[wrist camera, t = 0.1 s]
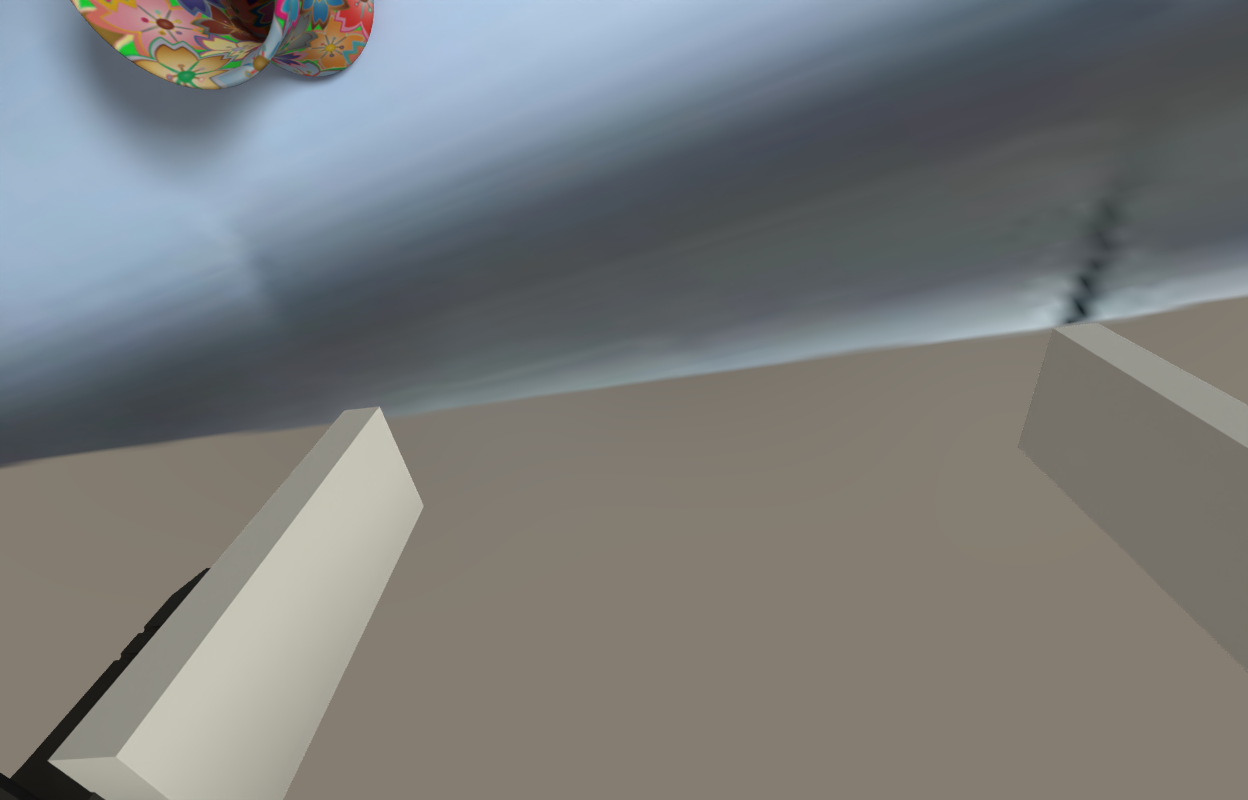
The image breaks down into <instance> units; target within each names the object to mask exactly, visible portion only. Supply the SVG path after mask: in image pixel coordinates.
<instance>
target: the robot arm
mask: <svg viewBox="0 0 1248 800" xmlns="http://www.w3.org/2000/svg"><path fill="white" fill-rule="evenodd" d="M1018 448H1019V449H1020V450H1021V451H1022V452H1023V453H1024V454H1025V455H1026V456H1027V457H1028V458H1029V459H1030V460H1031V461H1032V462H1033V463H1034V464H1035V465H1036V466H1037V467H1039V469H1040V470H1041V471H1042V472H1043V473H1045V474H1046V475H1047V476H1048V477H1049V478H1050V479H1051V480H1052V481H1053V482H1054V483H1055V484H1056V485H1057V486H1058V487H1059V488H1060V489H1061V490H1062V491H1063V492H1064V493H1065V494H1066V495H1067V496H1068V497H1069V498H1070V499H1071V500H1072V501H1073V502H1074V503H1075V504H1076V505H1077V506H1078V507H1079V508H1080V509H1081V510H1082V511H1083V512H1084V513H1085V514H1086V515H1087V516H1088V517H1089V518H1090V519H1092V521H1094V522H1095V524H1097V525H1098V526H1099V527H1100V528H1101V529H1102V530H1103V531H1104V532H1105V533H1106V534H1107V535H1108V536H1109V537H1110V538H1111V539H1112V540H1113V541H1114V542H1115V543H1116V544H1117V545H1118V546H1119V547H1120V548H1121V549H1122V550H1123V551H1124V552H1125V553H1126V554H1127V555H1128V556H1129V557H1130V558H1131V559H1132V560H1133V561H1134V562H1135V563H1136V564H1137V565H1138V566H1139V567H1140V568H1141V569H1142V570H1144V572H1145V573H1147V574H1148V575H1149V576H1150V577H1151V578H1152V579H1153V580H1154V581H1155V582H1156V583H1157V584H1158V585H1159V586H1160V587H1161V588H1162V589H1163V590H1164V591H1165V592H1166V593H1167V594H1168V595H1169V596H1170V597H1171V598H1172V599H1173V600H1174V601H1175V602H1176V603H1177V604H1178V605H1179V606H1180V607H1181V608H1182V609H1183V610H1184V611H1185V612H1186V613H1187V614H1188V615H1189V616H1190V617H1191V618H1192V619H1193V620H1194V621H1195V622H1197V624H1198V625H1199V626H1201V627H1202V628H1203V629H1204V630H1205V631H1206V632H1207V633H1208V634H1209V635H1210V636H1211V637H1212V638H1213V639H1214V640H1215V641H1216V642H1217V643H1218V644H1219V645H1220V646H1221V647H1222V648H1223V649H1224V650H1225V651H1226V652H1227V653H1228V654H1229V655H1230V656H1231V657H1232V658H1233V659H1234V660H1235V661H1236V662H1237V663H1238V664H1239V665H1240V666H1241V667H1242V668H1243V669H1244V670H1245V671H1246V672H1247V673H1248V405H1246V404H1244V403H1242V402H1241V401H1239V400H1237V399H1235V398H1233V397H1231V396H1230V395H1228V394H1226V393H1224V392H1222V391H1221V390H1219V389H1217V388H1215V387H1213V386H1211V385H1209V384H1208V383H1206V382H1204V381H1202V380H1200V379H1199V378H1197V377H1195V376H1193V375H1191V374H1189V373H1187V372H1186V371H1184V370H1182V369H1180V368H1178V367H1176V366H1175V365H1173V364H1171V363H1169V362H1167V361H1166V360H1164V359H1162V358H1160V357H1158V356H1156V355H1155V354H1153V353H1151V352H1149V351H1147V350H1145V349H1144V348H1142V347H1140V346H1138V345H1136V344H1134V343H1132V342H1131V341H1129V340H1127V339H1125V338H1123V337H1121V336H1120V335H1118V334H1116V333H1114V332H1112V331H1111V330H1109V329H1107V328H1105V327H1103V326H1101V325H1100V324H1098V323H1093V324H1084V325H1076V326H1067V327H1059V328H1053V330H1052V333H1051V337H1050V340H1049V343H1048V347H1047V350H1046V353H1045V357H1044V360H1043V363H1042V367H1041V371H1040V373H1039V377H1038V381H1037V384H1036V387H1035V391H1034V394H1033V397H1032V401H1031V404H1030V407H1029V411H1028V414H1027V418H1026V421H1025V424H1024V428H1023V431H1022V434H1021V437H1020V441H1019V444H1018ZM422 508H423V504H422V501H421V499H420V497H419V494H418V492H417V490H416V488H415V485H414V484H413V481H412V479H411V476H410V474H409V472H408V470H407V468H406V465H405V463H404V461H403V458H402V456H401V454H400V452H399V449H398V447H397V445H396V443H395V441H394V439H393V436H392V434H391V432H390V430H389V427H388V425H387V423H386V420H385V418H384V416H383V414H382V411H381V409H380V407H371V408H362V409H354V410H345V411H343V413H342V414H341V415H340V416H339V417H338V419H337V420H336V421H335V422H334V423H333V424H332V426H331V427H330V428H329V429H328V430H327V431H326V433H325V434H324V435H323V436H322V437H321V439H320V440H319V441H318V442H317V443H316V444H315V446H314V447H313V448H312V449H311V451H310V452H309V453H308V454H307V455H306V456H305V458H304V459H303V460H302V461H301V462H300V463H299V465H298V466H297V467H296V468H295V469H294V470H293V472H292V473H291V474H290V475H289V476H288V478H287V479H286V480H285V481H284V482H283V483H282V485H281V486H280V487H279V488H278V489H277V491H276V492H275V493H274V494H273V495H272V497H271V498H270V499H269V500H268V501H267V502H266V504H265V505H264V506H263V507H262V508H261V509H260V511H259V512H258V513H257V514H256V515H255V517H254V518H253V519H252V520H251V521H250V522H249V524H248V525H247V526H246V527H245V528H244V529H243V531H242V532H241V533H240V534H239V535H238V537H237V538H236V539H235V540H234V542H232V544H231V545H230V546H229V547H228V548H227V550H226V551H225V552H224V553H223V554H222V555H221V557H220V558H219V559H218V560H217V561H216V563H215V564H214V565H213V566H212V567H211V568H206V569H205V570H203V571H202V572H201V573H200V574H198V575H197V576H196V577H195V578H193V579H192V580H191V581H190V582H188V583H187V584H186V585H184V586H183V587H182V588H181V589H179V590H178V591H177V592H176V593H174V594H173V595H172V596H171V597H170V598H169V599H168V600H167V601H166V602H165V604H164V605H163V606H162V607H161V608H160V609H159V611H158V612H157V613H156V614H155V615H154V616H153V617H152V618H151V620H150V621H149V622H148V623H147V624H146V625H145V626H144V629H145V630H144V632H143V633H139V634H137V636H136V637H135V638H134V639H133V640H132V641H131V642H130V643H129V645H128V646H127V647H126V648H125V649H124V650H123V651H122V653H121V658H120V660H116V661H114V662H113V663H112V664H111V665H110V666H109V668H108V669H107V670H106V671H105V672H104V673H103V674H102V675H101V677H100V678H99V679H98V680H97V681H96V682H95V683H94V685H93V686H92V687H91V688H90V689H89V690H88V691H87V693H86V694H85V695H84V696H83V697H82V698H81V699H80V700H79V702H78V703H77V704H76V705H75V707H73V708H72V710H71V711H70V712H69V713H68V714H67V715H66V716H65V718H64V719H63V720H62V721H61V722H60V723H59V724H58V726H57V727H56V728H55V729H54V730H53V731H52V732H51V734H50V735H49V736H48V737H47V738H46V739H45V740H44V742H43V743H42V744H41V745H40V746H39V747H38V748H37V749H36V751H35V752H34V753H33V754H32V755H31V756H30V757H29V759H28V760H27V761H26V762H25V763H24V764H23V765H22V767H21V768H20V769H19V770H18V771H17V772H16V773H15V774H14V775H13V776H12V777H11V778H10V779H9V778H7V777H6V776H5V775H3V774H2V773H0V800H283V798H284V796H285V794H286V792H287V790H288V788H289V786H290V784H291V781H292V779H293V777H294V775H295V773H296V771H297V769H298V767H299V765H300V763H301V761H302V759H303V757H304V754H305V752H306V750H307V748H308V746H309V744H310V742H311V740H312V738H313V736H314V734H315V731H316V729H317V727H318V725H319V723H320V721H321V719H322V717H323V715H324V713H325V711H326V709H327V707H328V704H329V702H330V700H331V698H332V696H333V694H334V692H335V690H336V688H337V686H338V684H339V682H340V679H341V677H342V675H343V673H344V671H345V669H346V667H347V665H348V663H349V661H350V659H351V656H352V654H353V652H354V650H355V648H356V646H357V644H358V642H359V640H360V638H361V636H362V634H363V631H364V629H365V627H366V625H367V623H368V621H369V619H370V617H371V615H372V613H373V611H374V609H375V606H376V604H377V602H378V600H379V598H380V596H381V594H382V592H383V590H384V588H385V586H386V584H387V581H388V579H389V577H390V575H391V573H392V571H393V569H394V567H395V565H396V563H397V561H398V558H399V556H400V554H401V552H402V550H403V548H404V546H405V544H406V542H407V540H408V538H409V536H410V533H411V531H412V529H413V527H414V525H415V523H416V521H417V519H418V517H419V514H420V513H421V510H422Z"/></svg>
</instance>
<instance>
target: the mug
mask: <svg viewBox="0 0 1248 800" xmlns="http://www.w3.org/2000/svg"><path fill="white" fill-rule="evenodd" d="M70 1H71V2H72V3H73V5H74V6H75V7H76V9H77V10H78V11H79V12H80V14H81V15H82V16H83V17H84V19H85V20H86V21H87V22H88V23H89V24H90V25H91V27H92V28H93V29H94V30H95V31H96V32H97V33H98V34H99V35H100V36H101V37H102V38H103V39H104V40H105V41H107V42H108V43H109V44H110V45H111V46H112V47H113V48H114V49H116V50H117V51H118V52H119V53H121V54H122V55H123V56H125V57H126V58H127V59H129V60H130V61H132V62H133V63H135V64H136V65H138V66H139V67H141V68H143V69H144V70H146V71H148V72H150V73H152V74H154V75H156V76H158V77H160V78H162V79H164V80H167V81H169V82H172V83H175V84H178V85H182V86H185V87H190V88H195V89H206V90H207V89H224V88H229V87H233V86H237V85H239V84H242V83H244V82H246V81H248V80H250V79H251V78H253V77H254V76H256V75H257V74H258V73H259V72H261V71H262V70H263V69H264V68H265V67H266V65H267V64H268V63H269V62H270V61H271V62H272V63H274V64H276V65H278V66H279V67H281V68H283V69H286V70H288V71H290V72H293V73H297V74H300V75H305V76H327V75H331V74H334V73H337V72H339V71H341V70H343V69H345V68H346V67H348V66H349V65H350V64H352V63H353V62H354V61H355V60H356V59H357V58H358V56H359V55H360V54H361V52H362V51H363V49H364V47H365V45H366V43H367V41H368V39H369V36H370V33H371V28H372V23H373V14H374V2H373V0H70Z"/></svg>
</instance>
